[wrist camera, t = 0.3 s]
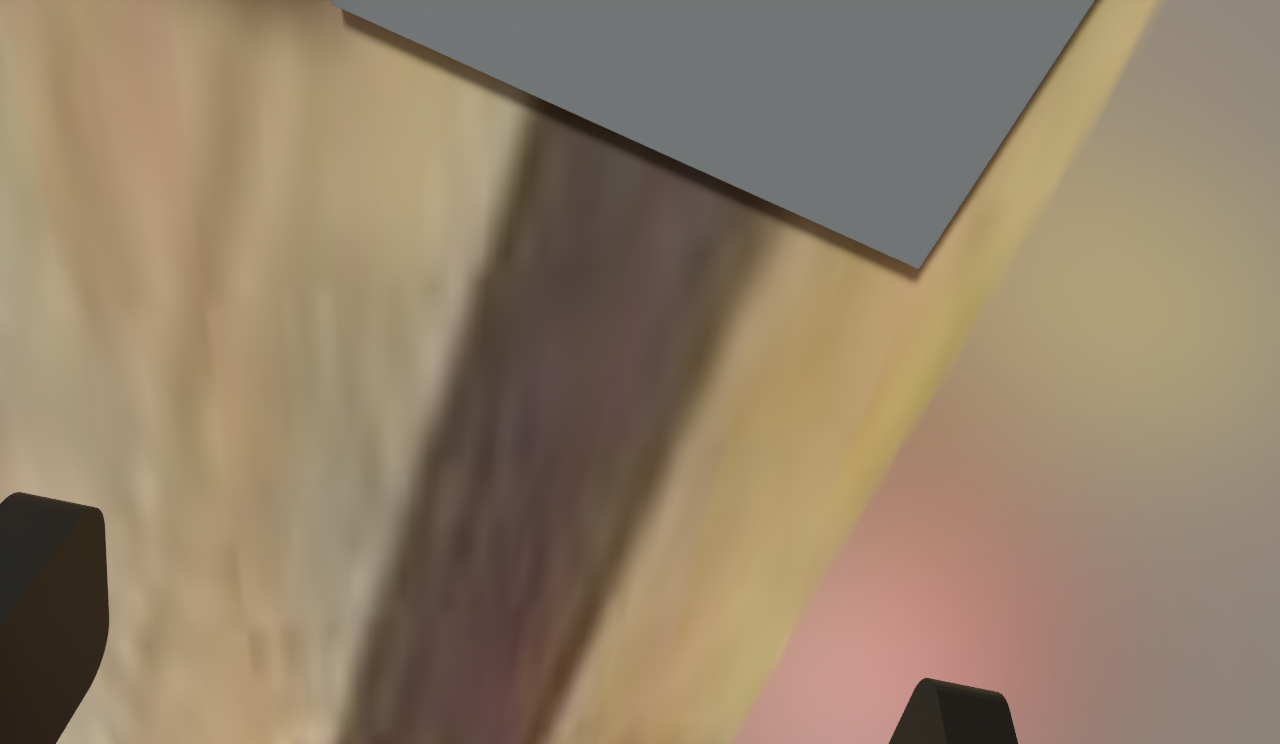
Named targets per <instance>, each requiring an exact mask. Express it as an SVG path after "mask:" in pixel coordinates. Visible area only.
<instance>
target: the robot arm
mask: <svg viewBox="0 0 1280 744" xmlns="http://www.w3.org/2000/svg"><path fill="white" fill-rule="evenodd" d="M108 630H109V606H108V584H107V562H106V540H105V523H104V517H103V514H102V512H101V511H100V510H99V509H98V508H95V507H91V506H86V505H81V504H76V503H71V502H66V501H61V500H56V499H51V498H46V497H41V496H36V495H31V494H26V493H21V492H17V493H13V494H11V495H10V496H8V497H7V498H6V499H5V500H4V501H3V502H2V503H1V504H0V744H56V742H57V741H58V739H59V737H60V736H61V734H62V733H63V731H64V729H65V728H66V726H67V724H68V723H69V721H70V719H71V718H72V716H73V714H74V713H75V711H76V709H77V708H78V706H79V705H80V703H81V701H82V700H83V698H84V696H85V695H86V693H87V691H88V690H89V688H90V686H91V684H92V682H93V680H94V678H95V676H96V674H97V671H98V669H99V666H100V663H101V661H102V658H103V654H104V651H105V647H106V642H107V637H108ZM889 744H1018V741H1017V738H1016V733H1015V729H1014V725H1013V721H1012V717H1011V713H1010V710H1009V707H1008V703H1007V701H1006V699H1005V698H1004V696H1003V695H1002V694H1000V693H999V692H995V691H989V690H985V689H980V688H974V687H970V686H964V685H960V684H955V683H950V682H945V681H940V680H935V679H930V678H924V679H922V680H921V681H920V682H919V683H918V685H917V686H916V688H915V690H914V691H913V694H912V696H911V698H910V700H909V702H908V704H907V706H906V708H905V710H904V713H903V715H902V717H901V719H900V721H899V723H898V725H897V727H896V729H895V731H894V734H893V736H892V738H891V740H890V742H889Z"/></svg>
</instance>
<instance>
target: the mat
mask: <svg viewBox="0 0 1280 744" xmlns="http://www.w3.org/2000/svg"><path fill="white" fill-rule="evenodd" d="M1093 2H1094V0H332V3H331V4H332V5H334V6H337V7H339V8H341V9H343V10H345V11H348V12H350V13H352V14H354V15H357V16H359V17H361V18H363V19H365V20H368V21H370V22H372V23H374V24H377V25H379V26H381V27H383V28H385V29H388V30H390V31H392V32H394V33H396V34H399V35H401V36H403V37H405V38H408V39H410V40H412V41H414V42H416V43H419V44H421V45H423V46H425V47H427V48H430V49H432V50H434V51H436V52H439V53H441V54H443V55H445V56H447V57H450V58H452V59H454V60H456V61H458V62H461V63H463V64H465V65H467V66H470V67H472V68H474V69H476V70H478V71H481V72H483V73H485V74H487V75H490V76H492V77H494V78H496V79H498V80H501V81H503V82H505V83H507V84H509V85H512V86H514V87H516V88H518V89H521V90H523V91H525V92H527V93H529V94H532V95H534V96H536V97H538V98H540V99H543V100H545V101H547V102H549V103H552V104H554V105H556V106H558V107H560V108H563V109H565V110H567V111H569V112H571V113H574V114H576V115H578V116H580V117H583V118H585V119H587V120H589V121H591V122H594V123H596V124H598V125H600V126H603V127H605V128H607V129H609V130H611V131H614V132H616V133H618V134H620V135H622V136H625V137H627V138H629V139H631V140H634V141H636V142H638V143H640V144H642V145H645V146H647V147H649V148H651V149H653V150H656V151H658V152H660V153H662V154H665V155H667V156H669V157H671V158H673V159H676V160H678V161H680V162H682V163H684V164H687V165H689V166H691V167H693V168H696V169H698V170H700V171H702V172H704V173H707V174H709V175H711V176H713V177H716V178H718V179H720V180H722V181H724V182H727V183H729V184H731V185H733V186H735V187H738V188H740V189H742V190H744V191H747V192H749V193H751V194H753V195H755V196H758V197H760V198H762V199H764V200H766V201H769V202H771V203H773V204H775V205H778V206H780V207H782V208H784V209H786V210H789V211H791V212H793V213H795V214H797V215H800V216H802V217H804V218H806V219H809V220H811V221H813V222H815V223H817V224H820V225H822V226H824V227H826V228H829V229H831V230H833V231H835V232H837V233H840V234H842V235H844V236H846V237H848V238H851V239H853V240H855V241H857V242H860V243H862V244H864V245H866V246H868V247H871V248H873V249H875V250H877V251H879V252H882V253H884V254H886V255H888V256H891V257H893V258H895V259H897V260H899V261H902V262H904V263H906V264H908V265H910V266H913V267H915V268H917V269H919V268H920V266H921V265H922V263H923V262H924V260H925V259H926V257H927V256H928V254H929V253H930V251H931V249H932V248H933V246H934V245H935V243H936V242H937V240H938V239H939V237H940V236H941V234H942V233H943V231H944V230H945V228H946V227H947V225H948V223H949V222H950V220H951V219H952V217H953V216H954V214H955V213H956V211H957V210H958V208H959V207H960V205H961V204H962V202H963V201H964V199H965V197H966V196H967V194H968V193H969V191H970V190H971V188H972V187H973V185H974V184H975V182H976V181H977V179H978V178H979V176H980V175H981V173H982V172H983V170H984V168H985V167H986V165H987V164H988V162H989V161H990V159H991V158H992V156H993V155H994V153H995V152H996V150H997V149H998V147H999V146H1000V144H1001V142H1002V141H1003V139H1004V138H1005V136H1006V135H1007V133H1008V132H1009V130H1010V129H1011V127H1012V126H1013V124H1014V123H1015V121H1016V120H1017V118H1018V116H1019V115H1020V113H1021V112H1022V110H1023V109H1024V107H1025V106H1026V104H1027V103H1028V101H1029V100H1030V98H1031V97H1032V95H1033V94H1034V92H1035V90H1036V89H1037V87H1038V86H1039V84H1040V83H1041V81H1042V80H1043V78H1044V77H1045V75H1046V74H1047V72H1048V71H1049V69H1050V68H1051V66H1052V64H1053V63H1054V61H1055V60H1056V58H1057V57H1058V55H1059V54H1060V52H1061V51H1062V49H1063V48H1064V46H1065V45H1066V43H1067V42H1068V40H1069V38H1070V37H1071V35H1072V34H1073V32H1074V31H1075V29H1076V28H1077V26H1078V25H1079V23H1080V22H1081V20H1082V19H1083V17H1084V16H1085V14H1086V12H1087V11H1088V9H1089V8H1090V6H1091V5H1092V3H1093Z"/></svg>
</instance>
